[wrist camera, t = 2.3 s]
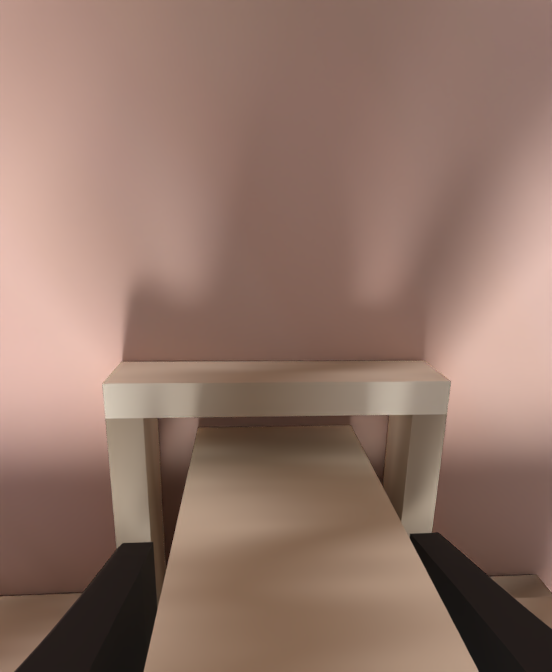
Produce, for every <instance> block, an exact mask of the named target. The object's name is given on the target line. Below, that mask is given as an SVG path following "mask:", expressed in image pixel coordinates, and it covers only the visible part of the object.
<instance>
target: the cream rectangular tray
mask: <svg viewBox="0 0 552 672" xmlns="http://www.w3.org/2000/svg"><path fill="white" fill-rule="evenodd" d="M102 386H103V398H104V409H105V421H106V433H107V444H108V456H109V467H110V479H111V491H112V502H113V514H114V526H115V537H116V549H117V548H118V547H119V546H120V545H121V544H122V543H137V542H153V545H154V561H155V578H156V594H157V609H158V605H159V601H160V596H161V592H162V587H163V583H164V578H165V574H166V562H165V544H164V525H163V506H162V487H161V468H160V450H159V431H158V418H191V417H270V416H349V415H389V422H388V433H387V444H386V455H385V466H384V477H383V488H384V490H385V492H386V494H387V496H388V498H389V500H390V502H391V504H392V506H393V508H394V509H395V511H396V513H397V515H398V517H399V519H400V521H401V523H402V525H403V527H404V529H405V531H406V532H407V534H408V536H409V538H410V534H413V533H432V528H433V520H434V513H435V505H436V497H437V489H438V481H439V473H440V465H441V457H442V449H443V441H444V433H445V425H446V417H447V409H448V402H449V394H450V386H451V381H450V380H449V379H448V378H446V377H445V376H444V375H442V374H441V373H440V372H439V371H437V370H436V369H435V368H433V367H432V366H431V365H429V364H428V363H427V362H426V361H195V362H121V363H120V364H119V365H118V366H117V367H116V369H115V370H114V371H113V372H112V373H111V374H110V375H109V377H108V378H107V379H106V380H105V381H104V382H103V383H102ZM490 578H491V579H492V580H494V581H495V582H496V583H497V584H498V585H499V586H501V587H502V588H503V589H504V590H505V591H506V592H508V593H509V594H510V595H511V596H512V597H514V598H515V599H516V600H517V601H518V602H520V603H521V604H522V605H523V606H524V607H526V608H527V609H528V610H529V611H530V612H532V613H533V614H534V615H535V616H536V617H538V618H539V619H540V620H541V621H543V622H544V623H545V624H546V625H548V626H549V627H550V628H551V629H552V593H551V592H550V590H549V589H548V588H547V587H546V586H545V584H544V583H543V582H542V581H541V580H540V578H539V577H538V576H537V575H516V576H492V577H490ZM81 594H82V593H71V594H46V595H21V596H0V672H14V671H15V670H16V669H17V668H18V667H19V666H20V665H21V664H22V662H23V661H24V660H25V659H26V658H27V657H28V656H29V655H30V654H31V653H32V652H33V650H34V649H35V648H36V647H37V646H38V645H39V644H40V643H41V642H42V640H43V639H44V638H45V637H46V636H47V635H48V633H49V632H50V631H51V630H52V629H53V628H54V626H55V625H56V624H57V623H58V622H59V620H60V619H61V618H62V617H63V616H64V615H65V613H66V612H67V611H68V610H69V609H70V607H71V606H72V605H73V604H74V603H75V601H76V600H77V599H78V598H79V597H80V595H81Z"/></svg>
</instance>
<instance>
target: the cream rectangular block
mask: <svg viewBox="0 0 552 672" xmlns="http://www.w3.org/2000/svg"><path fill="white" fill-rule="evenodd" d="M144 672H479V671H478V669H477V667H476V665H475V663H474V661H473V659H472V657H471V655H470V654H469V652H468V650H467V648H466V646H465V644H464V642H463V640H462V638H461V636H460V634H459V632H458V630H457V629H456V627H455V625H454V623H453V621H452V619H451V617H450V615H449V613H448V611H447V609H446V607H445V605H444V604H443V602H442V600H441V598H440V596H439V594H438V592H437V590H436V588H435V586H434V584H433V582H432V581H431V579H430V577H429V575H428V573H427V571H426V569H425V567H424V565H423V563H422V561H421V559H420V557H419V556H418V554H417V552H416V550H415V548H414V546H413V544H412V542H411V540H410V538H409V536H408V534H407V532H406V531H405V529H404V527H403V525H402V523H401V521H400V519H399V517H398V515H397V513H396V511H395V509H394V508H393V506H392V504H391V502H390V500H389V498H388V496H387V494H386V492H385V490H384V488H383V486H382V484H381V483H380V481H379V479H378V477H377V475H376V473H375V471H374V469H373V467H372V465H371V463H370V461H369V459H368V458H367V456H366V454H365V452H364V450H363V448H362V446H361V444H360V442H359V440H358V438H357V436H356V434H355V433H354V431H353V429H352V427H351V425H333V426H265V427H198V430H197V434H196V439H195V443H194V448H193V452H192V457H191V461H190V466H189V470H188V475H187V479H186V484H185V488H184V493H183V497H182V502H181V506H180V511H179V515H178V520H177V524H176V529H175V533H174V538H173V542H172V547H171V551H170V556H169V560H168V565H167V569H166V574H165V578H164V583H163V587H162V592H161V596H160V601H159V605H158V609H157V614H156V618H155V623H154V627H153V632H152V636H151V641H150V645H149V650H148V654H147V659H146V663H145V668H144Z"/></svg>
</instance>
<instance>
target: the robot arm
mask: <svg viewBox="0 0 552 672" xmlns="http://www.w3.org/2000/svg"><path fill="white" fill-rule="evenodd" d="M410 540H411V542H412V544H413V546H414V548H415V550H416V552H417V554H418V556H419V557H420V559H421V561H422V563H423V565H424V567H425V569H426V571H427V573H428V575H429V577H430V579H431V581H432V582H433V584H434V586H435V588H436V590H437V592H438V594H439V596H440V598H441V600H442V602H443V604H444V605H445V607H446V609H447V611H448V613H449V615H450V617H451V619H452V621H453V623H454V625H455V627H456V629H457V630H458V632H459V634H460V636H461V638H462V640H463V642H464V644H465V646H466V648H467V650H468V652H469V654H470V655H471V657H472V659H473V661H474V663H475V665H476V667H477V669H478V671H479V672H552V629H551V628H550V627H549V626H548V625H546V624H545V623H544V622H543V621H541V620H540V619H539V618H538V617H536V616H535V615H534V614H533V613H532V612H530V611H529V610H528V609H527V608H526V607H524V606H523V605H522V604H521V603H520V602H518V601H517V600H516V599H515V598H514V597H512V596H511V595H510V594H509V593H508V592H506V591H505V590H504V589H503V588H502V587H501V586H499V585H498V584H497V583H496V582H495V581H494V580H492V579H491V578H490V577H489V576H488V575H487V574H486V573H484V572H483V571H482V570H481V569H480V568H479V567H477V566H476V565H475V564H474V563H473V562H472V561H471V560H469V559H468V558H467V557H466V556H465V555H464V554H463V553H461V552H460V551H459V550H458V549H457V548H456V547H455V546H453V545H452V544H451V543H450V542H449V541H448V540H446V539H445V538H444V537H443V536H442V535H440V534H439V533H413V534H410ZM156 614H157V594H156V578H155V561H154V545H153V542H137V543H122V544H121V545H120V546H119V547H118V548H117V549H116V551H115V552H114V553H113V555H112V556H111V557H110V558H109V560H108V561H107V562H106V564H105V565H104V566H103V568H102V569H101V570H100V571H99V573H98V574H97V575H96V577H95V578H94V579H93V580H92V582H91V583H90V584H89V585H88V587H87V588H86V589H85V590H84V592H83V593H82V594H81V595H80V597H79V598H78V599H77V600H76V601H75V603H74V604H73V605H72V606H71V607H70V609H69V610H68V611H67V612H66V613H65V615H64V616H63V617H62V618H61V619H60V620H59V622H58V623H57V624H56V625H55V626H54V628H53V629H52V630H51V631H50V632H49V633H48V635H47V636H46V637H45V638H44V639H43V640H42V642H41V643H40V644H39V645H38V646H37V647H36V648H35V649H34V650H33V652H32V653H31V654H30V655H29V656H28V657H27V658H26V659H25V660H24V661H23V662H22V664H21V665H20V666H19V667H18V668H17V669H16V670H15V671H14V672H144V668H145V663H146V659H147V654H148V650H149V645H150V641H151V636H152V632H153V627H154V623H155V618H156Z"/></svg>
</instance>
